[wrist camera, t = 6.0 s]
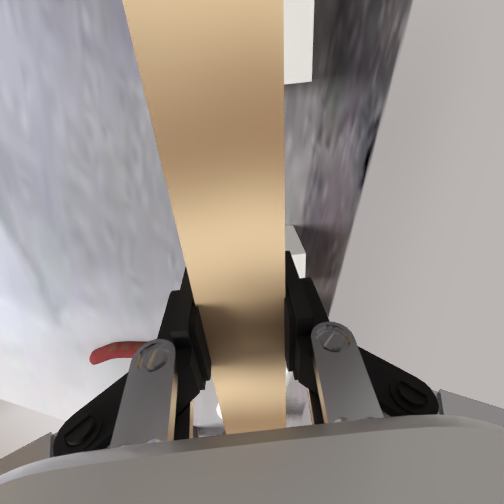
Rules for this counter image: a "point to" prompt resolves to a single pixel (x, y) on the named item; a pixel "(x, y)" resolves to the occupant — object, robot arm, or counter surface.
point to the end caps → (297, 71)
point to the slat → (225, 182)
